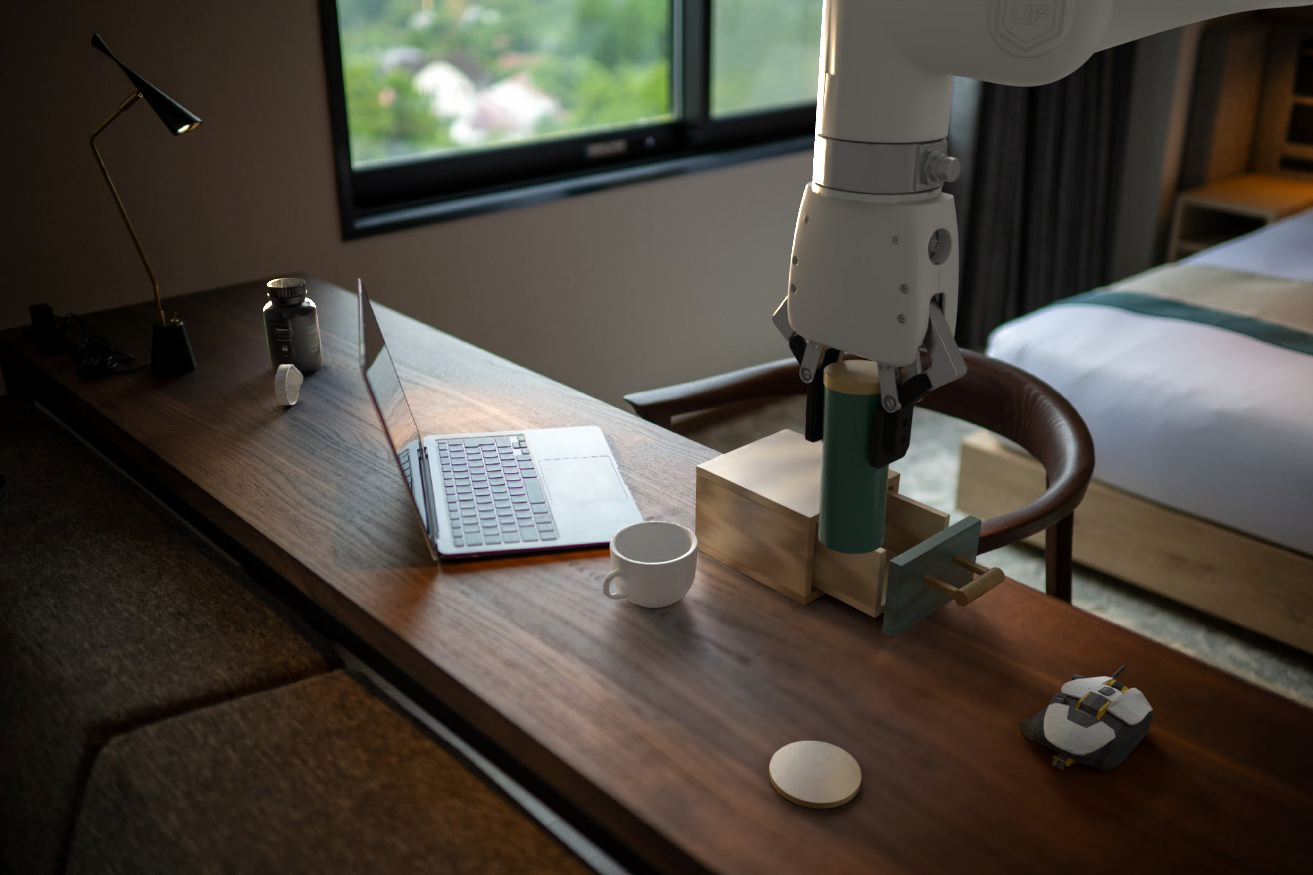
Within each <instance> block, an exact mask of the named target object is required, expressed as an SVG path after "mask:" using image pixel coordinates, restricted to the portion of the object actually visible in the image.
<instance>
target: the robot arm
mask: <svg viewBox="0 0 1313 875" xmlns="http://www.w3.org/2000/svg"><path fill="white" fill-rule="evenodd" d="M822 2H823V4H822V17H821V18H822V20H821V37H820V55H819V70H818V71H819V72H818V85H817V88H818V89H817V105H816V121H815V138H814V139H815V141H814V156H813V157H814V158H813V173H812V174H813V175H812V181H809V182H807V183H806V185H805V189H804V191H803V196H802V199H801V202H800V207H799V211H798V216H797V221H796V226H795V231H794V238H793V244H792V248H791V249H792V250H791V256H790V265H789V266H790V267H789V277H788V286H787V287H788V288H787V296H786V297H785V298H784V300H783V301H782V302H781V304H779V306H778V308H777V309H776V310H775V311H774V313H773V314H772V317H771V318H772V319H771V320H772V323H773V325H774V326H775V327H776V329H777V331H778V332H779V334H781V336H782V337H783V338H784V340H785V341H786V342H788V347H789V350H790V351H791V353H792V355H793V356H794V358H795V360H796V362H797V363H798V365H799V374H798V375H799V377H800V378H799V379H801V381H802V382H803V383H806V385H807V388H806V403H805V426H804V427H805V428H804V435H805V439H806V440H807V441H810V442H812V443H814V442H817V441H822V425H823V398H824V382H823V377H824V369H825V367H826V366H828V365H830V364H832V363H835V362H839V361H844V357H845V354H846V353H847V354H850V355H854V356H857V357H860V358H862V359H866V360H868V361H874V362H877V367H878V376H879V384H880V393H881V401H882V406H881V407H879V408H876V409H874V411H873V415H872V426H871V437H870V449H869V460H868V462H869V463H870V466H872V467H874V468H877V469H880V468H882V467H884V466H886V465H888V464H889V465H890V464H892V463H895V462H897V461H899V460H901V459H903V458H904V457H905V456H906V455H907V452H908V450H909V447H910V445H911V437H912V428H913V425H912V424H913V418H914V408H915V407H914V406H915V404H917V403H919V402H922V401H923V399H924V398H925V397H927V396H928V395H929V394H931V393H933V392H934V391H935V390H937V389H938V388H940V387H942V386H945V385H947V384H949V383H951V382H953V381H956V380H958V379H960V378H962V377H964V376H965V375H967V373H968V365H967V364H966V362H965V360H964V357H963V355H962V352H961V350H960V348H959V346H958V344H957V342H956V340H955V334H956V327H957V316H958V315H957V314H958V301H959V300H958V299H959V278H960V276H959V273H960V267H959V266H960V248H959V246H960V245H959V229H958V219H957V218H958V217H957V211H956V205H955V204H956V203H955V197H954V195H953V194H952V193H946V192H942V188H943V187H944V186H945V182H947V183H948V182H949V183H954V182H956V181H957V180H958V178H959V177H960V174H961V171H962V162H961V159H959V158H958V157H954V156H950V155H949V154H948V148H949V141H948V134H949V124H950V116H951V107H952V98H953V89H954V88H953V87H954V78H955V77H961V78H965V79H966V78H967V79H972V80H976V81H982V82H987V83H993V84H998V85H1004V86H1011V87H1026V88H1027V87H1038V86H1039V87H1040V86H1044V85H1048V84H1052V83H1054V82H1057V81H1060V80H1062V79H1064V78H1066V77H1067V76H1069V75H1071V74H1072V73H1074V72H1076V71H1077V70H1078V69H1079V68H1081V67H1082V66H1083V65H1084V64H1085V63H1086V62H1088V60H1089V59H1090V58H1091V57H1092V56H1093V54H1095V53H1097V52H1098V53H1099V52H1101V51H1104V50H1107V49H1111V48H1113V47H1117V46H1120V45H1124V44H1127V43H1129V42H1132V41H1136V40H1139V39H1142V38H1146V37H1149V36H1152V35H1155V34H1159V33H1162V32H1166V31H1170V30H1172V29H1176V28H1180V27H1184V26H1187V25H1191V24H1194V23H1198V22H1203V21H1207V20H1211V19H1215V18H1219V17H1223V16H1227V15H1232V14H1237V13H1243V12H1249V11H1255V10H1256V11H1257V10H1264V9H1277V8H1292V7H1304V6H1313V0H823V1H822ZM921 352H925V353H928V355H929V357H930V361H931V366H930V367H929V368H928V369H926V370H924V371H923V370H922V360H921Z"/></svg>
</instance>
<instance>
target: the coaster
mask: <svg viewBox="0 0 1313 875" xmlns="http://www.w3.org/2000/svg"><path fill="white" fill-rule="evenodd" d="M768 776H769V780H770V782H771V784H772V787H773V788H774V789H775V790H776V792H777V793H778V794H780V795H781V797H783V798H784V799H785V800H788V801H790V802H791V803H793V804H796V805H799V806H802V807H805V808H809V809H819V810H820V809H824V810H825V809H832V808H836V807H840V806H842V805H845V804H847V803H848V802H850V801H852V800H853V799H855V797H856V796H857V794H858V793H859V791H860V789H861V786H862V778H863V776H862V770H861V767H860V765H859V763H858V762H857V760H856V759H855V757H853V756H852V754H850V753H849V752H848V751H846V750H844V749H843V748H841V747H839V746H837V745H834V744H832V743H829V742H826V741H820V740H799V741H798V740H797V741H794V742H791V743H788V744H786V745H783V746H782V747H780V748H779V749H778V750H776V752H775V753H774V754H773V755H772V757H771V759H770V762H769V767H768Z"/></svg>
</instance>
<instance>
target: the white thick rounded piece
mask: <svg viewBox="0 0 1313 875" xmlns="http://www.w3.org/2000/svg"><path fill="white" fill-rule="evenodd" d="M303 381H304V375H302V374H301V372H300V371H298V370H297V368H295V367H294V365H280V366H279V367H278V370H277V373H275V377H274V390H275V391H274V394H275V396H276V400H277V403H278V405H281V406H294V405H295V404H296V403H297V401H298V398H299V390H300V389H301V385H302V384H303Z"/></svg>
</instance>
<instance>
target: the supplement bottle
mask: <svg viewBox="0 0 1313 875" xmlns="http://www.w3.org/2000/svg"><path fill="white" fill-rule="evenodd" d="M266 285H267V286H266V287H267V298H268V299H269V300H270V301H268V302H267V303H266V304H265V306H264V307H263V310H262V316H263V324H264V329H265V330H264V331H265V335H266V343H267V350H268V356H269V362H270V368H271V370H272V372H274V373H275V374H277V370H278V367H279V366H280V365H294V367H295V368H297V370H298V371H300V372H301V374H302V376H305V375H309V374H312V373H315V372H317V371H318V370H320V369H321V368H322V367H323V364H324V358H323V349H322V340H321V333H320V325H319V318H318V310H317V306H316V305H315V303H314V302H313V301H312V300H311V299H309V298H308V297H307V296H308V290H307V286H306V281H305V280H304V279H303V278H297V277H283V278H277V279H273V280H271V281H269V282H268V283H266Z"/></svg>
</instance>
